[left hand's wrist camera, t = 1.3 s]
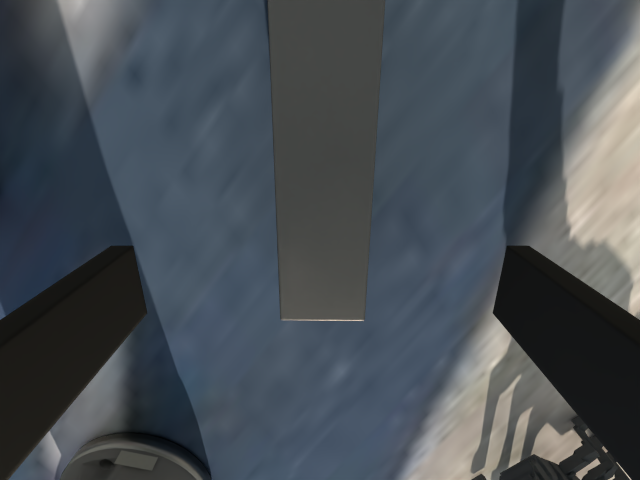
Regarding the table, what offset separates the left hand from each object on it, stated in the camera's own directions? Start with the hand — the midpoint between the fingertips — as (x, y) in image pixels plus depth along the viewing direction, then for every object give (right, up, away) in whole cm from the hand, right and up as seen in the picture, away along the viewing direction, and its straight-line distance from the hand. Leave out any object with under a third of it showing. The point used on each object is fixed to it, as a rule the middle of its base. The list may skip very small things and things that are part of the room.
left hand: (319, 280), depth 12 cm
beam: (0, +31, +4) cm, 31 cm away
